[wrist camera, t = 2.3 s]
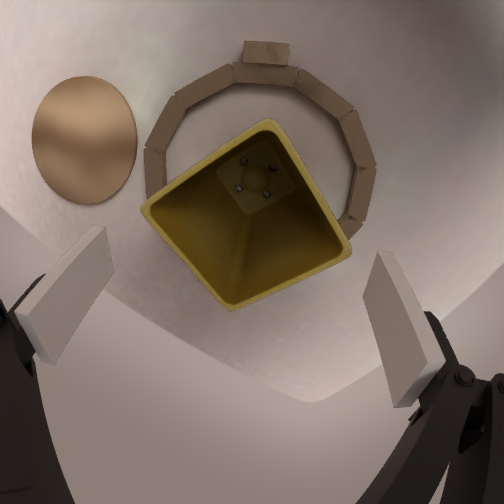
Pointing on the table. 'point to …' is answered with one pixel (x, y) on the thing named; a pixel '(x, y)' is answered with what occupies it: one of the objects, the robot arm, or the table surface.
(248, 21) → the table surface
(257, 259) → the flower pot
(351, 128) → the socket ring
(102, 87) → the coaster
